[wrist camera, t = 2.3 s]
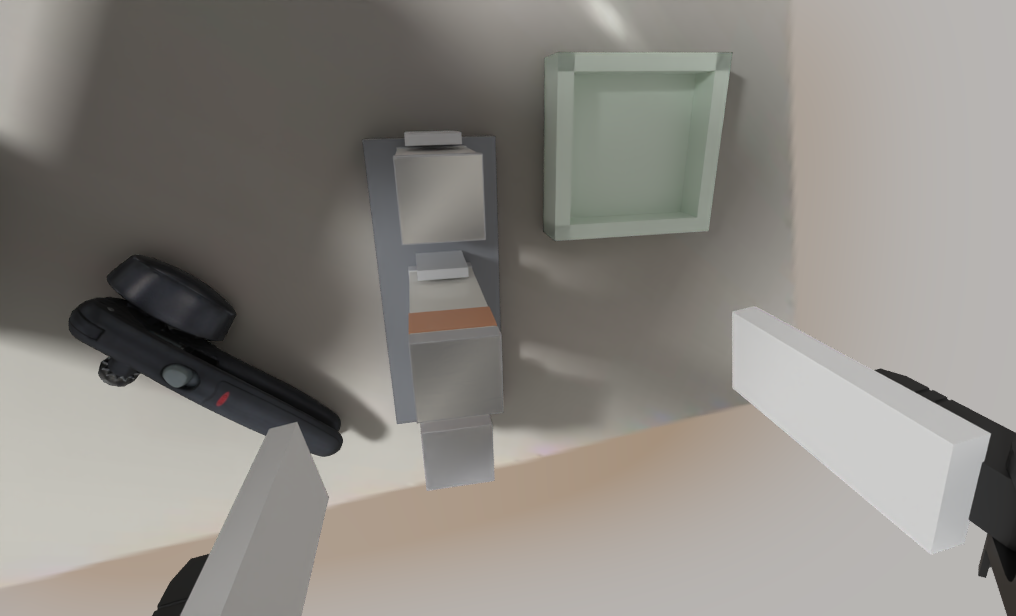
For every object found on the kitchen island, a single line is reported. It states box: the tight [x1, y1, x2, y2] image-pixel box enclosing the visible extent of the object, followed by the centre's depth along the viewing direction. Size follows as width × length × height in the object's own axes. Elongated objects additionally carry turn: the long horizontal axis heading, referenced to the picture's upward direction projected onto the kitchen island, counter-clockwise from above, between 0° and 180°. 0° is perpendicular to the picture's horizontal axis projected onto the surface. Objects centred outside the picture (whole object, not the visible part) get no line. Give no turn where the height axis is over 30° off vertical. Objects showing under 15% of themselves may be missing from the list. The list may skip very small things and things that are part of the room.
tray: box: [543, 52, 733, 241], centre depth 32 cm, size 11×11×3 cm
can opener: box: [69, 255, 343, 457], centre depth 31 cm, size 18×7×6 cm, turn 42°
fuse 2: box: [408, 262, 504, 423], centre depth 28 cm, size 4×4×12 cm
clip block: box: [362, 131, 501, 424], centre depth 32 cm, size 8×21×6 cm, turn 1°
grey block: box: [421, 415, 494, 491], centre depth 32 cm, size 4×4×8 cm
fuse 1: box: [393, 145, 486, 245], centre depth 27 cm, size 4×4×8 cm
